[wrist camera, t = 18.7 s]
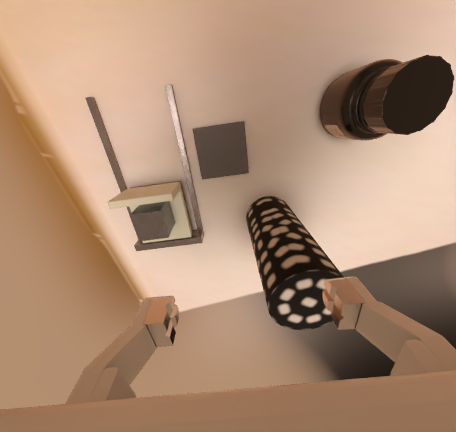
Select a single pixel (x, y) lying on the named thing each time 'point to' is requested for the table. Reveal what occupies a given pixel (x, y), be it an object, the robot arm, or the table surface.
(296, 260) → the white-spotted black cylinder
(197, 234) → the track
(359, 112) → the ink bottle
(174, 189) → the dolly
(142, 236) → the steel block
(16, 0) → the table surface
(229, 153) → the station pad
